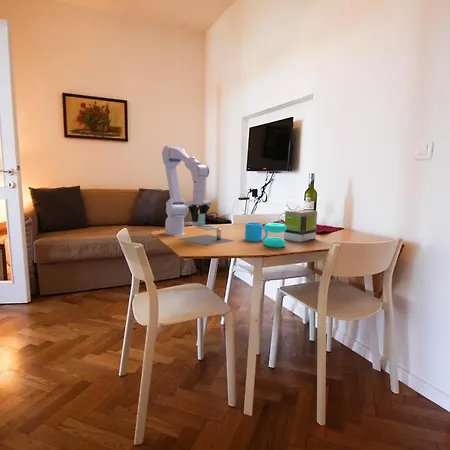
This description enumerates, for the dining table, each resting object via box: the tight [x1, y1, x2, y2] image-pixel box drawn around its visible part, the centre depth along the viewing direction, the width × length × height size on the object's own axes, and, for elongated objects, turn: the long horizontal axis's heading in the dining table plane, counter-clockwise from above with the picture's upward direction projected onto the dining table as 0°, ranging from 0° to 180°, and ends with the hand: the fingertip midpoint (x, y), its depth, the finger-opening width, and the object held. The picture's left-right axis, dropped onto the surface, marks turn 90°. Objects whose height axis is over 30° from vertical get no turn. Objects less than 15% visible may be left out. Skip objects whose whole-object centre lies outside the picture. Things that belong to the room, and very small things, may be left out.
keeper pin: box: [216, 228, 222, 240], centre depth 161 cm, size 2×2×5 cm
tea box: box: [283, 208, 318, 243], centre depth 174 cm, size 15×10×15 cm, turn 134°
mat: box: [178, 234, 235, 247], centre depth 161 cm, size 19×19×1 cm
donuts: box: [263, 222, 287, 248], centre depth 155 cm, size 10×10×10 cm
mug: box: [244, 222, 269, 242], centre depth 165 cm, size 12×8×8 cm
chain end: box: [184, 212, 220, 231], centre depth 156 cm, size 18×7×6 cm, turn 46°
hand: (198, 221), depth 156 cm, fingers closed on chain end, 4 cm apart
